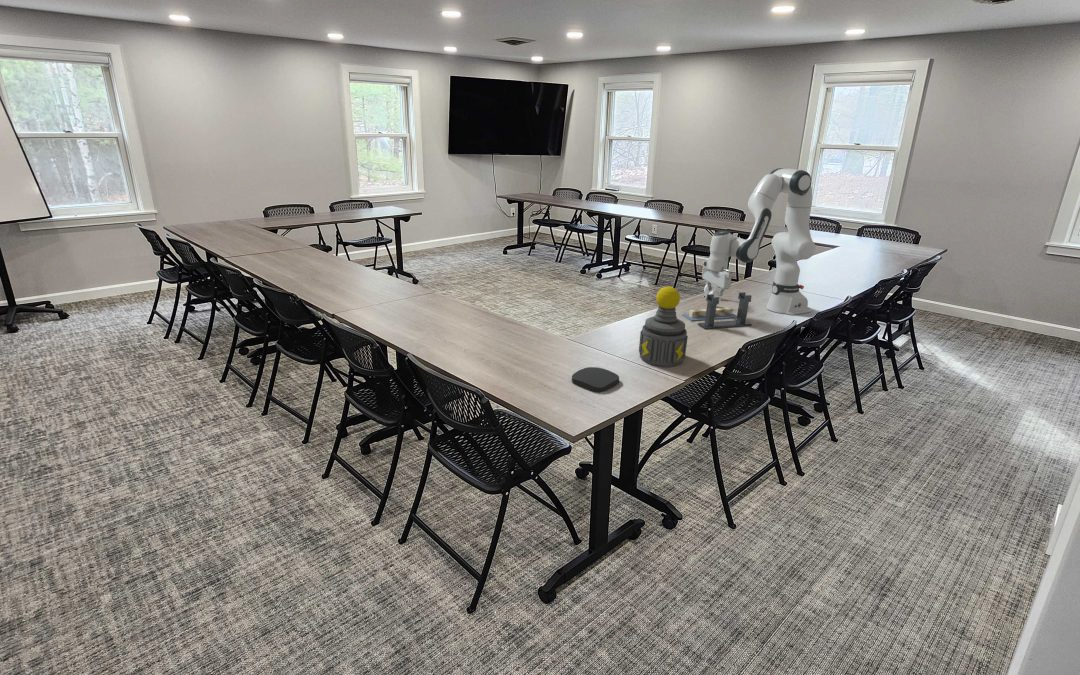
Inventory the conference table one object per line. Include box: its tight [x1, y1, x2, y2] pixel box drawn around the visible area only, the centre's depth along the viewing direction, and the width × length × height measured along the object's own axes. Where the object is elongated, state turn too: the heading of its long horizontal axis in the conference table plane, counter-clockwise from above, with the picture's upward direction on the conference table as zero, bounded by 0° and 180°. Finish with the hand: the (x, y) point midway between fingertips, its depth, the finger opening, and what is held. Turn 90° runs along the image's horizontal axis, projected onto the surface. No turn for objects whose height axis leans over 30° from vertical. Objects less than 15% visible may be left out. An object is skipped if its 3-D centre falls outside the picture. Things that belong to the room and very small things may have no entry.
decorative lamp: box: [638, 286, 689, 368], centre depth 223 cm, size 19×19×30 cm
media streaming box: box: [571, 366, 620, 393], centre depth 206 cm, size 15×15×3 cm
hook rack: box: [697, 291, 753, 330], centre depth 265 cm, size 25×6×15 cm, turn 105°
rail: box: [688, 307, 733, 318], centre depth 278 cm, size 22×3×3 cm, turn 105°
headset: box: [701, 283, 722, 303], centre depth 298 cm, size 20×7×18 cm, turn 172°
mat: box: [681, 312, 737, 322], centre depth 279 cm, size 26×9×1 cm, turn 105°
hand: (714, 293), depth 275 cm, fingers open, 8 cm apart
